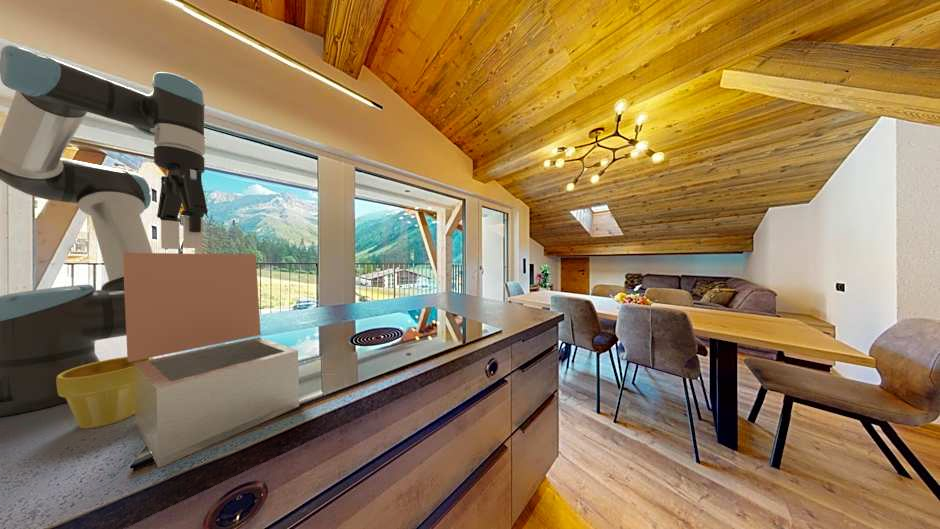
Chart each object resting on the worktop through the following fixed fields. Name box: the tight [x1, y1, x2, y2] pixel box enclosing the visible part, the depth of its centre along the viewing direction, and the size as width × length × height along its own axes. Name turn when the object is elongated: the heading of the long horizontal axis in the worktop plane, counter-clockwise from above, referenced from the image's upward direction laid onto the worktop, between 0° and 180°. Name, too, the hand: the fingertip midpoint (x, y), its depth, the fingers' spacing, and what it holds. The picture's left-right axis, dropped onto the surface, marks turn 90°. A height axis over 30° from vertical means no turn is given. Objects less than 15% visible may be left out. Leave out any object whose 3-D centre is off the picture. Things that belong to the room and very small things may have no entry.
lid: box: [123, 252, 261, 362], centre depth 55 cm, size 19×19×4 cm
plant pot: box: [56, 356, 154, 430], centre depth 48 cm, size 10×10×10 cm
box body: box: [134, 336, 300, 469], centre depth 49 cm, size 18×18×11 cm
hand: (181, 248), depth 59 cm, fingers open, 12 cm apart
